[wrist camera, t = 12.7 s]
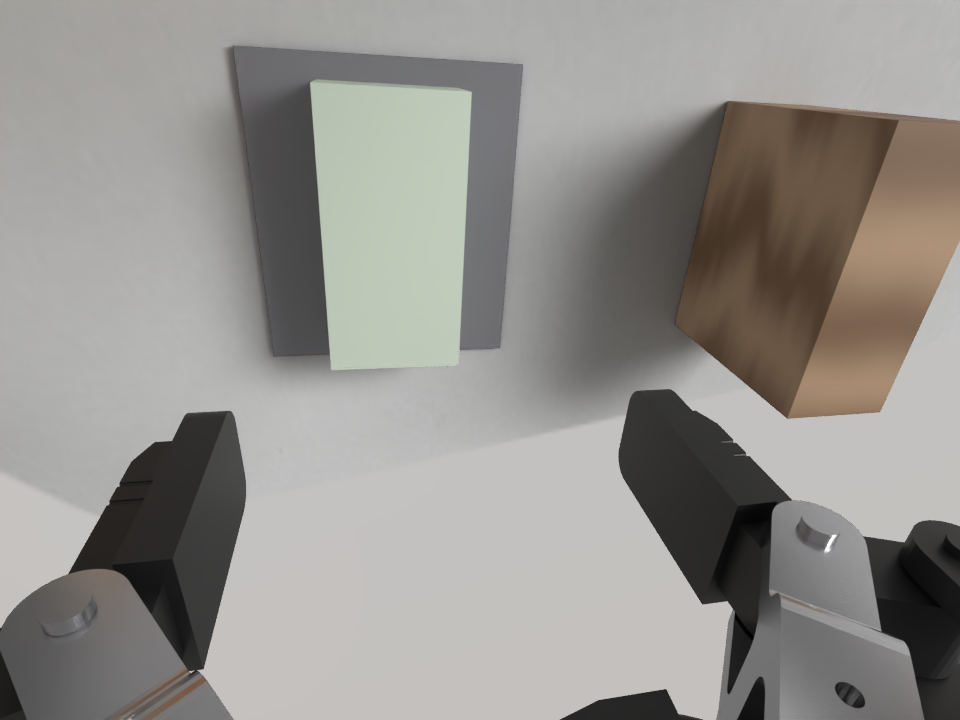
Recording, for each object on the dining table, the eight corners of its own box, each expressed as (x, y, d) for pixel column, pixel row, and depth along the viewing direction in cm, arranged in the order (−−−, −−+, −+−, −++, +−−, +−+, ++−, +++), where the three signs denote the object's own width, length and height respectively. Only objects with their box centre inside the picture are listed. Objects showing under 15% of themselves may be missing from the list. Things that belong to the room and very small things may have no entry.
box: (727, 100, 27) (899, 120, 19) (812, 105, 28) (1012, 126, 20) (674, 324, 33) (787, 418, 24) (746, 322, 34) (879, 412, 25)
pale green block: (316, 79, 23) (310, 82, 20) (457, 87, 24) (471, 91, 21) (333, 337, 29) (331, 370, 26) (448, 334, 30) (458, 365, 27)
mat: (234, 45, 22) (232, 45, 22) (521, 64, 25) (523, 64, 25) (274, 353, 29) (273, 356, 29) (498, 345, 31) (500, 348, 31)
